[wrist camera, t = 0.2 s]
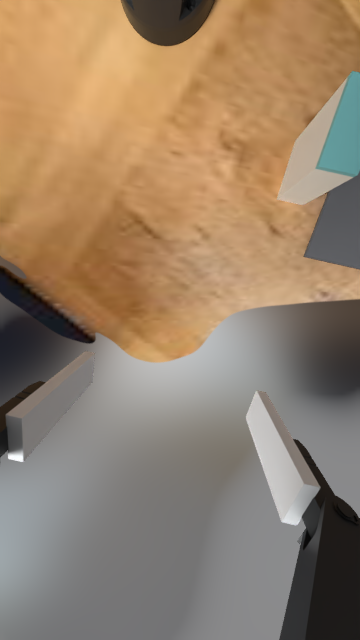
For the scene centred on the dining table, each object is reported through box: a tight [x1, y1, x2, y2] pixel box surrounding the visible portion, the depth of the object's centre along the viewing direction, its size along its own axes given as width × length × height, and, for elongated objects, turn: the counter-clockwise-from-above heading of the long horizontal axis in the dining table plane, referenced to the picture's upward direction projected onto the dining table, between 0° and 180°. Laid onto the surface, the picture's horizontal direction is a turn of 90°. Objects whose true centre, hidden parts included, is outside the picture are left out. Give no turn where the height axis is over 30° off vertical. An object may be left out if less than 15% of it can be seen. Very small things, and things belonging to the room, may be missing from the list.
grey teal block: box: [277, 71, 360, 205], centre depth 28 cm, size 9×5×12 cm, turn 168°
